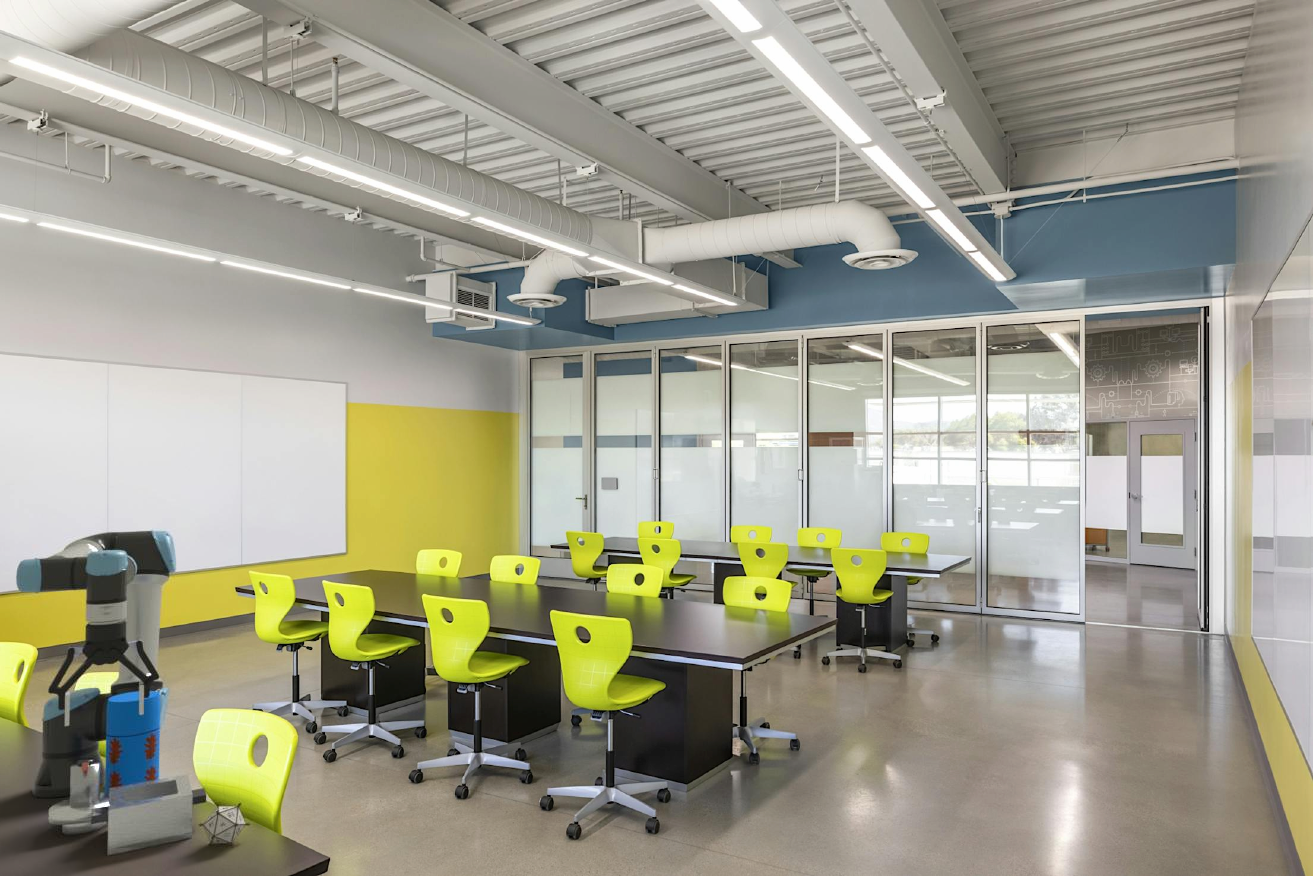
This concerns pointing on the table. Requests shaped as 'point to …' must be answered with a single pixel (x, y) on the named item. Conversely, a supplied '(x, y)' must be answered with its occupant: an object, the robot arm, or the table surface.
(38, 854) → the table surface
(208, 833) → the game die
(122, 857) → the table surface
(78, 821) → the lid
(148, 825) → the base
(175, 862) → the table surface
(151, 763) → the thermos
